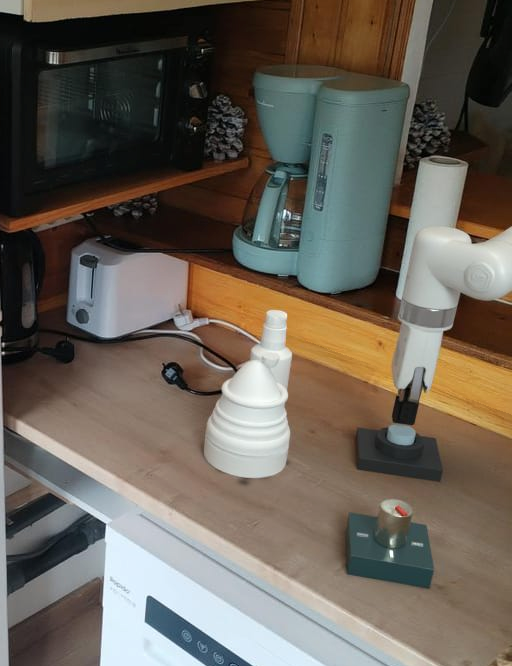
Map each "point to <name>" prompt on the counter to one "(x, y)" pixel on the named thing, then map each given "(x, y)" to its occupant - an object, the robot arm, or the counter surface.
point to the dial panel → (388, 553)
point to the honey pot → (250, 423)
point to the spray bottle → (275, 345)
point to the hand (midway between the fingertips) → (402, 421)
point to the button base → (397, 455)
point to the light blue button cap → (401, 434)
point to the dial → (393, 523)
